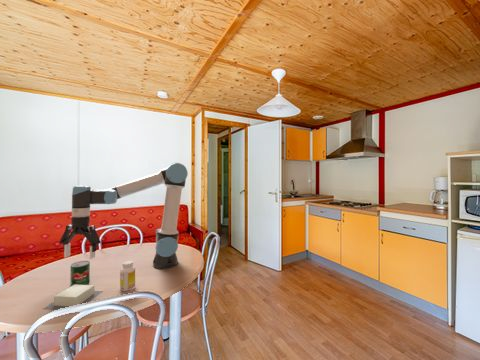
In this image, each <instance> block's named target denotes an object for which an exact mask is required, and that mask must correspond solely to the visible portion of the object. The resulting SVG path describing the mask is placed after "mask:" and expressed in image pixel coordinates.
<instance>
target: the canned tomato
mask: <svg viewBox="0 0 480 360" xmlns="http://www.w3.org/2000/svg"><path fill="white" fill-rule="evenodd" d="M90 263H91V261H89V260H80V261H76V262H73V263H71V264H70V274H69V275H70V278H69V279H70V285H69V287H71V286H72V285H74V284H76V285H90V282H91V281H90V275H91V274H90V272H91V271H90V270H91V268H90V267H91V265H90Z"/></svg>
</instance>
